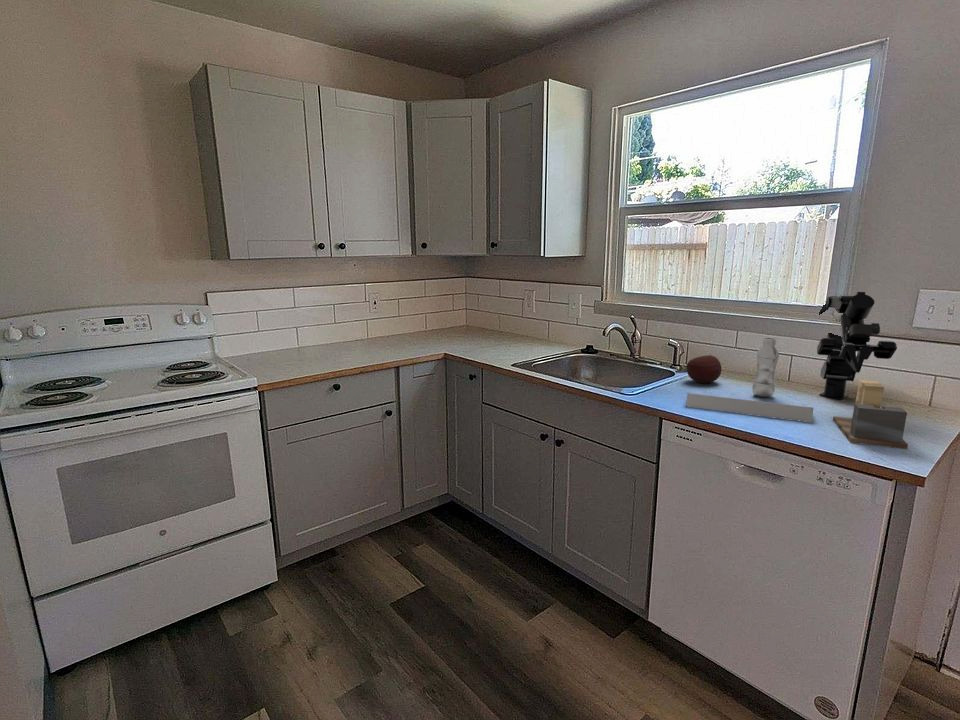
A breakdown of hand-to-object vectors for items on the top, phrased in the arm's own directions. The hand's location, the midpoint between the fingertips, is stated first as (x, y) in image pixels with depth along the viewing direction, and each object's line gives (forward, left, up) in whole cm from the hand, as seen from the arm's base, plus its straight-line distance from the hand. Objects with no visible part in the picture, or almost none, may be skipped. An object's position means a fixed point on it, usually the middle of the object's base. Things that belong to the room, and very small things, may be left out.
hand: (857, 371), depth 148 cm
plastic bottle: (+1, -26, -14) cm, 29 cm away
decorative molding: (+19, -22, -14) cm, 32 cm away
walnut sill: (+13, +9, -14) cm, 21 cm away
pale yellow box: (+11, +7, -12) cm, 18 cm away
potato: (+1, -48, -14) cm, 50 cm away
